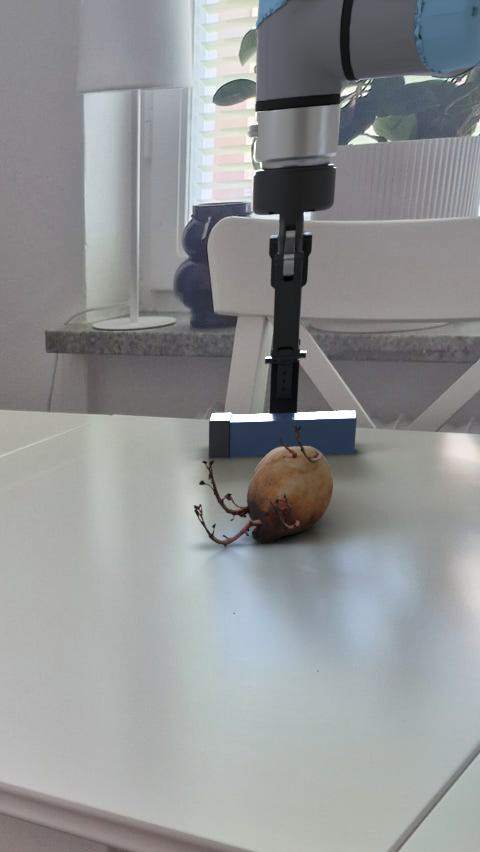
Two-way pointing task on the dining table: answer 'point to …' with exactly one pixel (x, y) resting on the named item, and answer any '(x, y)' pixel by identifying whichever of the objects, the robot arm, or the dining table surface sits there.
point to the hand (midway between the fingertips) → (282, 429)
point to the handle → (281, 433)
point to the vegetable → (280, 493)
